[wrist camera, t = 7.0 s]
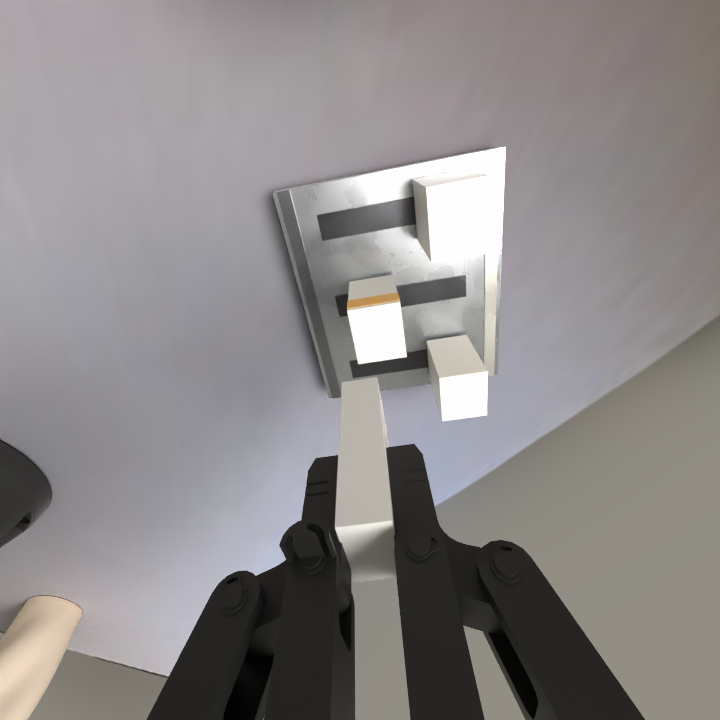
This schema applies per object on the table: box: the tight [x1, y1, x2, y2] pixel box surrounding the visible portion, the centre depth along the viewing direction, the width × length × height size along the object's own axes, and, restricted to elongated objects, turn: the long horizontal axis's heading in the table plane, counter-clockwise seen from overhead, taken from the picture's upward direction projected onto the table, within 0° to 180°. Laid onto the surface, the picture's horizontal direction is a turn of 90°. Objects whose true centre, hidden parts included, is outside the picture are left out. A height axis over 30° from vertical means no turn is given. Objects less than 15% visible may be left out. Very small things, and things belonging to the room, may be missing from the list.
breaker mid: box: [347, 274, 407, 364], centre depth 23 cm, size 3×4×5 cm
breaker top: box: [412, 169, 491, 263], centre depth 19 cm, size 3×4×5 cm
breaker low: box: [426, 335, 488, 421], centre depth 25 cm, size 3×4×5 cm
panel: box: [272, 147, 505, 398], centre depth 26 cm, size 14×16×2 cm
